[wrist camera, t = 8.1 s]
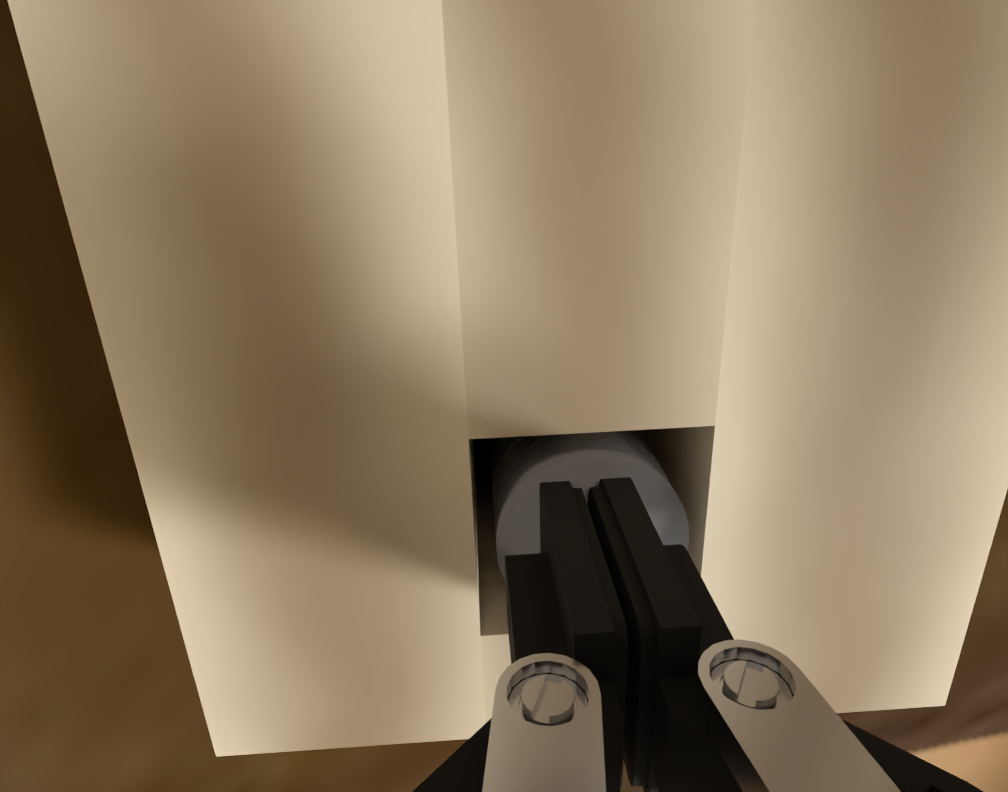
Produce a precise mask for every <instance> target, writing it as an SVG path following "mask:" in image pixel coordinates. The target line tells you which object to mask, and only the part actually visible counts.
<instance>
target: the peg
mask: <svg viewBox="0 0 1008 792" xmlns="http://www.w3.org/2000/svg"><path fill="white" fill-rule="evenodd" d="M489 450H490V464H491V478H492V492H493V506H494V520H495V535H496V549H497V558H498V564H499V567H500V571H501V574H502V576H503V578H504V580H505V555H520V554H536V553H540V499H539V487H540V483H541V482H558V481H570V483H571V486H572V488H582V490H583V493H584V496H585V499H586V502H587V505H589V488H590V487H599V481H600V479H608V478H624V477H631V479H632V481H633V483H634V485H635V487H636V489H637V491H638V493H639V495H640V497H641V499H642V502H643V504H644V506H645V508H646V510H647V512H648V514H649V516H650V518H651V520H652V522H653V525H654V527H655V529H656V531H657V533H658V535H659V537H660V539H661V541H662V543H663V545H675V544H681V545H683V546H684V547H685V548H686V550H687V551H688V545H689V525H688V519H687V516H686V512H685V509H684V507H683V505H682V503H681V501H680V499H679V498H678V496H677V494H676V492H675V490H674V489H673V487H672V485H671V483H670V482H669V480H668V478H667V476H666V474H665V473H664V471H663V469H662V467H661V466H660V464H659V462H658V460H657V459H656V457H655V455H654V453H653V451H652V450H651V448H650V446H649V444H648V443H647V441H646V439H645V437H644V435H643V434H642V432H641V430H629V431H611V432H592V433H574V434H556V435H537V436H519V437H500V438H489Z"/></svg>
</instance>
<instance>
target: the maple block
mask: <svg viewBox="0 0 1008 792" xmlns="http://www.w3.org/2000/svg"><path fill="white" fill-rule="evenodd" d="M7 1H8V4H9V8H10V11H11V15H12V19H13V22H14V26H15V30H16V33H17V37H18V40H19V44H20V48H21V51H22V55H23V58H24V62H25V66H26V69H27V73H28V77H29V80H30V84H31V87H32V91H33V95H34V98H35V102H36V106H37V109H38V113H39V116H40V120H41V124H42V127H43V131H44V135H45V138H46V142H47V145H48V149H49V153H50V156H51V160H52V164H53V167H54V171H55V174H56V178H57V182H58V185H59V189H60V193H61V196H62V200H63V203H64V207H65V211H66V214H67V218H68V222H69V225H70V229H71V232H72V236H73V240H74V243H75V247H76V251H77V254H78V258H79V261H80V265H81V269H82V272H83V276H84V280H85V283H86V287H87V290H88V294H89V298H90V301H91V305H92V309H93V312H94V316H95V319H96V323H97V327H98V330H99V334H100V338H101V341H102V345H103V348H104V352H105V356H106V359H107V363H108V367H109V370H110V374H111V377H112V381H113V385H114V388H115V392H116V396H117V399H118V403H119V406H120V410H121V414H122V417H123V421H124V425H125V428H126V432H127V435H128V439H129V443H130V446H131V450H132V454H133V457H134V461H135V464H136V468H137V472H138V475H139V479H140V483H141V486H142V490H143V493H144V497H145V501H146V504H147V508H148V512H149V515H150V519H151V522H152V526H153V530H154V533H155V537H156V541H157V544H158V548H159V551H160V555H161V559H162V562H163V566H164V569H165V573H166V577H167V580H168V584H169V588H170V591H171V595H172V598H173V602H174V606H175V609H176V613H177V617H178V620H179V624H180V627H181V631H182V635H183V638H184V642H185V646H186V649H187V653H188V656H189V660H190V664H191V667H192V671H193V675H194V678H195V682H196V685H197V689H198V693H199V696H200V700H201V704H202V707H203V711H204V714H205V718H206V722H207V725H208V729H209V733H210V736H211V740H212V743H213V747H214V751H215V754H216V756H230V755H245V754H259V753H273V752H288V751H302V750H316V749H330V748H345V747H359V746H373V745H388V744H402V743H416V742H431V741H445V740H459V739H469V738H471V737H472V736H473V735H474V734H475V733H476V732H477V731H478V730H479V729H480V728H481V727H482V726H483V725H484V724H485V723H487V722H488V721H489V720H490V719H491V718H492V712H493V704H494V696H495V689H496V686H497V683H498V680H499V677H500V676H501V674H502V673H503V672H504V671H505V670H506V668H507V667H508V666H509V665H511V656H510V645H509V634H508V621H507V605H506V584H505V580H504V578H503V576H502V574H501V571H500V567H499V564H498V558H497V549H496V535H495V520H494V506H493V492H492V485H485V486H476V471H475V454H474V439H482V438H500V437H519V436H537V435H556V434H574V433H592V432H611V431H629V430H641V432H642V434H643V435H644V437H645V439H646V441H647V443H648V444H649V446H650V448H651V450H652V451H653V453H654V455H655V457H656V459H657V460H658V462H659V464H660V466H661V467H662V469H663V471H664V473H665V474H666V476H667V478H668V480H669V482H670V483H671V485H672V487H673V489H674V490H675V492H676V494H677V496H678V498H679V499H680V501H681V503H682V505H683V507H684V509H685V512H686V516H687V519H688V525H689V545H688V553H689V555H690V557H691V559H692V560H693V562H694V564H695V566H696V568H697V570H698V572H699V574H700V576H701V578H702V579H703V581H704V583H705V585H706V587H707V589H708V591H709V593H710V595H711V597H712V598H713V600H714V602H715V604H716V606H717V608H718V610H719V612H720V614H721V616H722V617H723V619H724V621H725V623H726V625H727V627H728V629H729V631H730V633H731V634H732V636H733V638H734V640H740V639H741V640H747V641H754V642H758V643H761V644H764V645H766V646H769V647H772V648H774V649H775V650H777V651H779V652H780V653H782V654H784V655H785V656H787V657H788V658H789V659H790V660H791V661H792V662H793V663H794V664H795V665H797V666H798V667H799V669H800V670H801V671H802V672H803V673H804V675H805V676H806V677H807V678H808V680H809V681H810V682H811V683H812V684H813V686H814V687H815V688H816V689H817V690H818V692H819V693H820V694H821V695H822V696H823V698H824V699H825V700H826V701H827V703H828V704H829V705H830V706H831V707H832V709H833V710H834V711H835V712H836V713H845V712H860V711H874V710H888V709H903V708H917V707H931V706H945V704H946V700H947V697H948V693H949V690H950V686H951V683H952V679H953V676H954V673H955V669H956V666H957V662H958V659H959V655H960V652H961V648H962V645H963V641H964V638H965V634H966V631H967V627H968V624H969V620H970V617H971V614H972V610H973V607H974V603H975V600H976V596H977V593H978V589H979V586H980V582H981V579H982V575H983V572H984V568H985V565H986V561H987V558H988V554H989V551H990V548H991V544H992V541H993V537H994V534H995V530H996V527H997V523H998V520H999V516H1000V513H1001V509H1002V506H1003V502H1004V499H1005V495H1006V492H1007V489H1008V0H7Z"/></svg>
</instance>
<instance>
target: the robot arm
mask: <svg viewBox="0 0 1008 792" xmlns="http://www.w3.org/2000/svg"><path fill="white" fill-rule="evenodd" d="M539 499H540V553H536V554H520V555H505V584H506V605H507V621H508V634H509V645H510V656H511V665H509V666H508V667H507V668H506V670H505V671H504V672H503V673H502V674H501V676H500V677H499V680H498V683H497V686H496V689H495V696H494V704H493V712H492V718H491V719H490V720H489V721H488V722H487V723H485V724H484V725H483V726H482V727H481V728H480V729H479V730H478V731H477V732H476V733H475V734H474V735H473V736H472V737H471V738H469V739H468V740H467V741H466V742H465V743H464V744H463V745H462V746H461V747H460V748H459V749H458V750H457V751H456V752H455V753H453V754H452V755H451V756H450V757H449V758H448V759H447V760H446V761H445V762H444V763H443V764H442V765H441V766H440V767H438V768H437V769H436V770H435V771H434V772H433V773H432V774H431V775H430V776H429V777H428V778H427V779H426V780H425V781H424V782H422V783H421V784H420V785H419V786H418V787H417V788H416V789H415V790H414V791H413V792H620V787H621V786H622V774H623V759H624V763H625V767H626V771H627V775H628V779H629V782H630V784H631V786H643V790H644V792H983V791H981V790H979V789H978V788H976V787H975V786H973V785H971V784H970V783H968V782H966V781H964V780H962V779H960V778H958V777H956V776H954V775H952V774H950V773H948V772H946V771H944V770H942V769H940V768H938V767H936V766H934V765H932V764H930V763H928V762H926V761H924V760H922V759H920V758H918V757H916V756H914V755H912V754H910V753H908V752H906V751H904V750H902V749H900V748H898V747H896V746H894V745H892V744H890V743H888V742H886V741H884V740H882V739H880V738H878V737H876V736H874V735H872V734H870V733H868V732H866V731H864V730H862V729H860V728H858V727H856V726H854V725H852V724H850V723H848V722H846V721H844V720H842V719H841V718H840V717H839V716H838V715H837V713H836V712H835V711H834V710H833V709H832V707H831V706H830V705H829V704H828V703H827V701H826V700H825V699H824V698H823V696H822V695H821V694H820V693H819V692H818V690H817V689H816V688H815V687H814V686H813V684H812V683H811V682H810V681H809V680H808V678H807V677H806V676H805V675H804V673H803V672H802V671H801V670H800V669H799V667H798V666H797V665H795V664H794V663H793V662H792V661H791V660H790V659H789V658H788V657H787V656H785V655H784V654H782V653H780V652H779V651H777V650H775V649H774V648H772V647H769V646H766V645H764V644H761V643H758V642H754V641H747V640H741V639H740V640H734V638H733V636H732V634H731V633H730V631H729V629H728V627H727V625H726V623H725V621H724V619H723V617H722V616H721V614H720V612H719V610H718V608H717V606H716V604H715V602H714V600H713V598H712V597H711V595H710V593H709V591H708V589H707V587H706V585H705V583H704V581H703V579H702V578H701V576H700V574H699V572H698V570H697V568H696V566H695V564H694V562H693V560H692V559H691V557H690V555H689V553H688V551H687V550H686V548H685V547H684V546H683V545H681V544H675V545H663V543H662V541H661V539H660V537H659V535H658V533H657V531H656V529H655V527H654V525H653V522H652V520H651V518H650V516H649V514H648V512H647V510H646V508H645V506H644V504H643V502H642V499H641V497H640V495H639V493H638V491H637V489H636V487H635V485H634V483H633V481H632V479H631V477H624V478H608V479H600V481H599V487H590V488H589V505H587V502H586V499H585V496H584V493H583V490H582V488H572V486H571V483H570V481H558V482H541V483H540V487H539Z"/></svg>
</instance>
